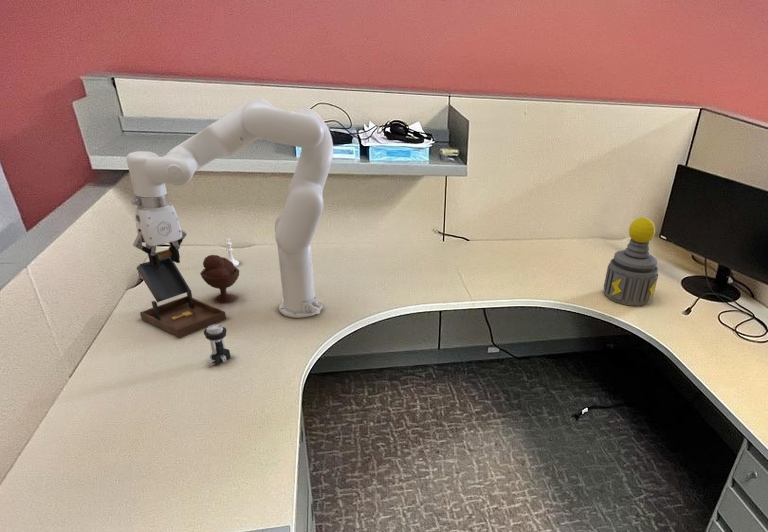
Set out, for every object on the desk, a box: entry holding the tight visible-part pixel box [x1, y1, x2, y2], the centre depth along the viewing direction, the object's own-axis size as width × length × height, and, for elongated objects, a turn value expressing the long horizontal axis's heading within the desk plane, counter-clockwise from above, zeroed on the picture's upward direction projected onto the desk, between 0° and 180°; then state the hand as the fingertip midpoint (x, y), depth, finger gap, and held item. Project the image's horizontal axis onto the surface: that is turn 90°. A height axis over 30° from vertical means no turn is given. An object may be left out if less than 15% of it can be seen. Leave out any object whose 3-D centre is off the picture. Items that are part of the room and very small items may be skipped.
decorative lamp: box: [603, 216, 659, 307], centre depth 204 cm, size 19×19×30 cm
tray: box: [139, 289, 227, 339], centre depth 165 cm, size 17×15×7 cm
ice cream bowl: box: [199, 254, 240, 304], centre depth 176 cm, size 11×11×15 cm
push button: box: [203, 323, 231, 367], centre depth 147 cm, size 7×5×10 cm
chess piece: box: [224, 236, 240, 267], centre depth 202 cm, size 5×5×10 cm
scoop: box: [136, 248, 191, 303], centre depth 162 cm, size 12×9×8 cm
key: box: [172, 311, 193, 320], centre depth 167 cm, size 6×2×1 cm, turn 149°
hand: (165, 263), depth 160 cm, fingers closed on scoop, 5 cm apart
